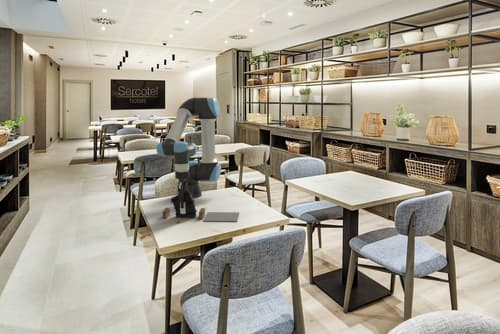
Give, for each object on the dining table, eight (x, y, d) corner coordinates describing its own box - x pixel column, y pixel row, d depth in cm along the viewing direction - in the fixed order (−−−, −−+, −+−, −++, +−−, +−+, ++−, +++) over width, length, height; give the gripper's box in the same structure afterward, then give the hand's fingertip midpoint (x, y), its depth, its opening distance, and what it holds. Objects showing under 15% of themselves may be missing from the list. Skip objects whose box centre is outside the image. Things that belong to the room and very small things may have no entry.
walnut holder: (162, 218, 190) (162, 211, 189) (166, 214, 196) (166, 207, 196) (202, 219, 188) (202, 212, 188) (205, 215, 195) (204, 208, 195)
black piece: (200, 215, 190) (187, 191, 187) (179, 224, 192) (166, 200, 190) (202, 213, 193) (189, 189, 191) (181, 222, 195) (169, 198, 193)
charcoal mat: (207, 213, 199) (207, 212, 199) (239, 213, 198) (239, 212, 198) (203, 221, 185) (203, 220, 185) (237, 221, 184) (237, 220, 184)
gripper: (179, 167, 196) (181, 207, 201) (170, 174, 179) (173, 217, 184) (192, 167, 196) (193, 207, 200) (185, 174, 179) (187, 217, 184)
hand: (184, 212), depth 192 cm, fingers closed on black piece, 4 cm apart
